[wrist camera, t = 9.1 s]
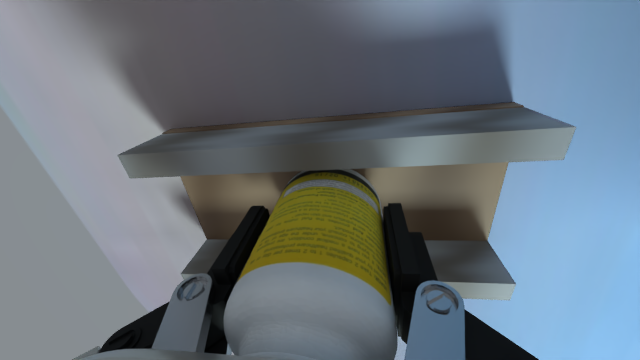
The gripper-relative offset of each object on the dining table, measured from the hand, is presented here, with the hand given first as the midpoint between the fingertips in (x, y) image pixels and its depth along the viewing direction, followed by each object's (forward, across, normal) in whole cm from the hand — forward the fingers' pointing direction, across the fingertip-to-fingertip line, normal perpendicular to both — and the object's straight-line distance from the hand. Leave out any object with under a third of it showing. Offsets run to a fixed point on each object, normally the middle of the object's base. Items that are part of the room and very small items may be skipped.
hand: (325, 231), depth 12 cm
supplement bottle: (+2, 0, 0) cm, 2 cm away
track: (+4, 0, 0) cm, 4 cm away
